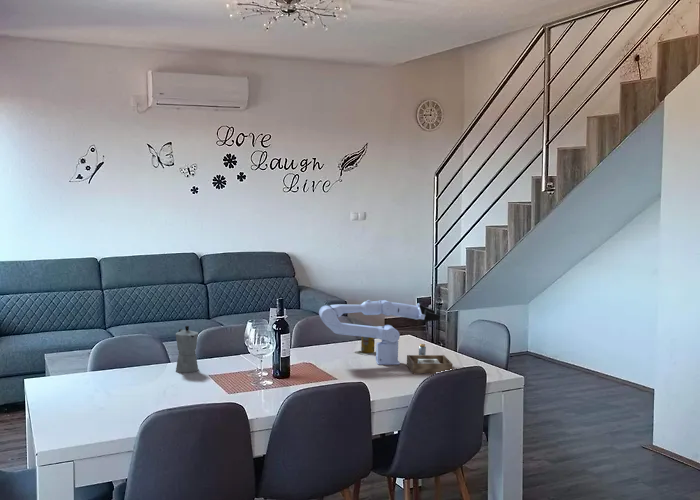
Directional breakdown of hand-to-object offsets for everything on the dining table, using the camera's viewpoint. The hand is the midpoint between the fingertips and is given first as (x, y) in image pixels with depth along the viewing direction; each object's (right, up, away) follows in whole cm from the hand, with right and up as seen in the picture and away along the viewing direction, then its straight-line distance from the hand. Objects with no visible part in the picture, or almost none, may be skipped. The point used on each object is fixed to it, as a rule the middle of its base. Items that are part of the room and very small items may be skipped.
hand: (436, 315), depth 304 cm
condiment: (-30, -19, +17) cm, 39 cm away
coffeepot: (-103, -20, -21) cm, 107 cm away
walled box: (-5, -21, -12) cm, 25 cm away
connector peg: (-6, -20, +4) cm, 21 cm away
